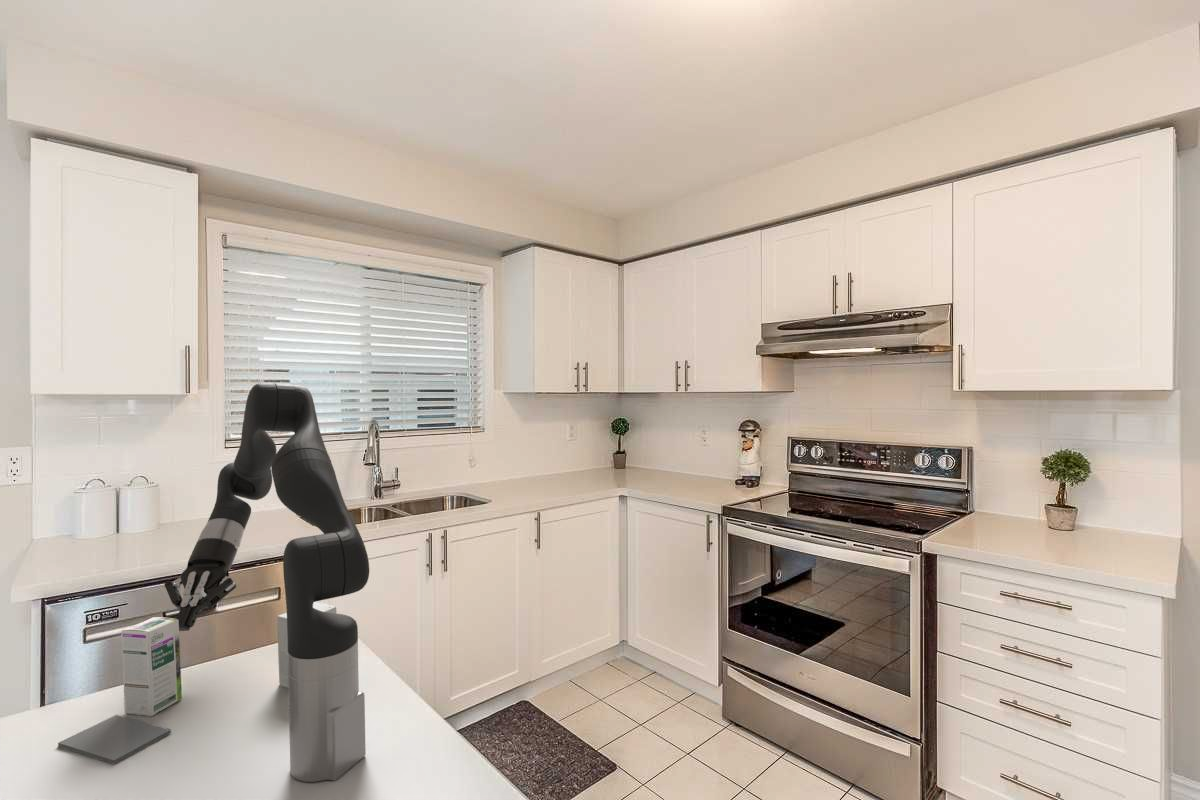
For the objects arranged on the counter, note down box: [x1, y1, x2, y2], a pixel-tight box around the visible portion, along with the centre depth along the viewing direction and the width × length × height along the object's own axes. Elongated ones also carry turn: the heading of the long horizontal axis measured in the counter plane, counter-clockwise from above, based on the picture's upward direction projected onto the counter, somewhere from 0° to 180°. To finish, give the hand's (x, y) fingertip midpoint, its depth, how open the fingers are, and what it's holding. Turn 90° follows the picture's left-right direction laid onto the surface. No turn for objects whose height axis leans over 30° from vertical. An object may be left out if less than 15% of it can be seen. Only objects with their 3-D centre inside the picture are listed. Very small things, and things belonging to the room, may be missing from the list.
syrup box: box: [120, 616, 183, 717], centre depth 100 cm, size 6×6×14 cm
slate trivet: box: [57, 714, 172, 765], centre depth 91 cm, size 13×8×1 cm, turn 70°
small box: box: [276, 601, 337, 689], centre depth 109 cm, size 8×6×13 cm
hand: (182, 629), depth 108 cm, fingers closed
